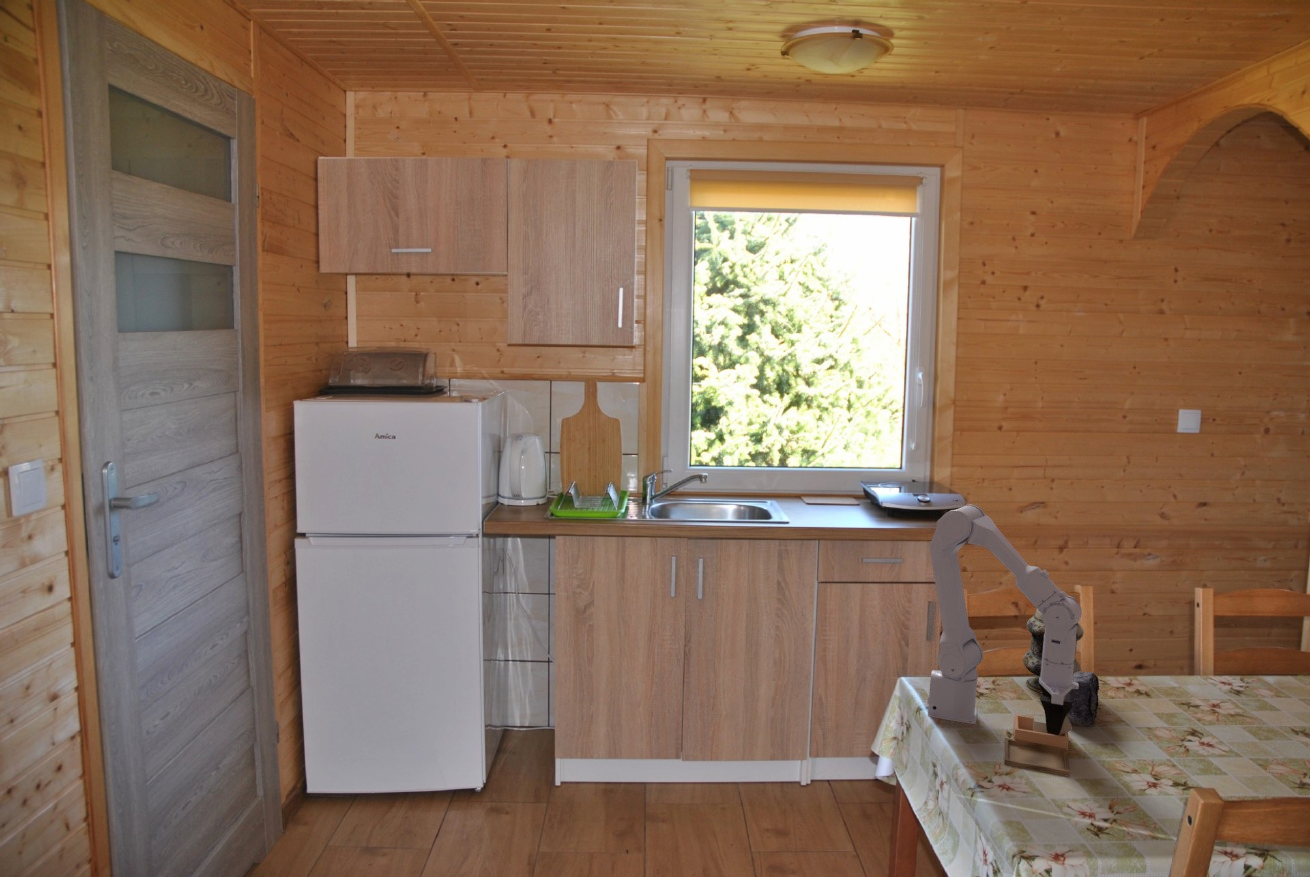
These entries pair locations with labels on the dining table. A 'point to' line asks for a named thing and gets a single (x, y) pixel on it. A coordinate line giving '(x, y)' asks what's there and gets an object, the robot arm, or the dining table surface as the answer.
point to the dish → (1037, 733)
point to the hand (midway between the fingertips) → (1052, 725)
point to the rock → (1083, 699)
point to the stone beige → (1066, 726)
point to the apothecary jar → (1041, 649)
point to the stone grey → (1039, 724)
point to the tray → (1036, 756)
